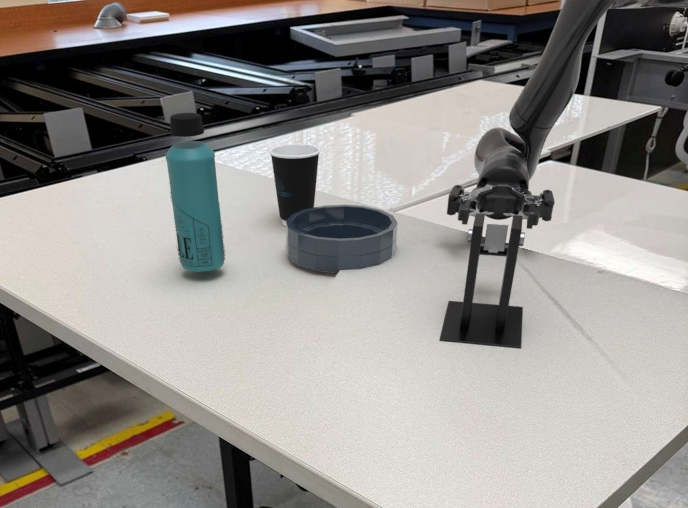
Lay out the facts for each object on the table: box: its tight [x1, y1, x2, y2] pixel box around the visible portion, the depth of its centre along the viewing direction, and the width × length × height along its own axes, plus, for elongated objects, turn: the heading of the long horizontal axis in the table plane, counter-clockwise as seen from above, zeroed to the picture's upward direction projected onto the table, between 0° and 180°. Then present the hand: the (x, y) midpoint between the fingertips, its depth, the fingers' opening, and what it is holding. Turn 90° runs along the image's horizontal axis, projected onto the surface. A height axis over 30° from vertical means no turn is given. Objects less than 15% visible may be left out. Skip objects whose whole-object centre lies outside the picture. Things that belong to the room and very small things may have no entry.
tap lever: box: [479, 223, 509, 258], centre depth 83 cm, size 13×5×2 cm, turn 166°
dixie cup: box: [268, 143, 322, 228], centre depth 113 cm, size 8×8×11 cm
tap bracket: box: [439, 213, 526, 349], centre depth 81 cm, size 11×9×13 cm
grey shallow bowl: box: [285, 204, 398, 274], centre depth 103 cm, size 16×16×5 cm
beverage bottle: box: [165, 112, 226, 273], centre depth 94 cm, size 6×7×20 cm
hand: (497, 219), depth 95 cm, fingers open, 8 cm apart
